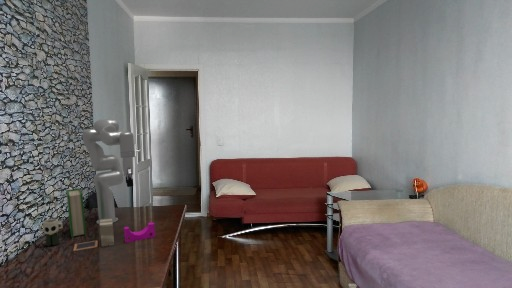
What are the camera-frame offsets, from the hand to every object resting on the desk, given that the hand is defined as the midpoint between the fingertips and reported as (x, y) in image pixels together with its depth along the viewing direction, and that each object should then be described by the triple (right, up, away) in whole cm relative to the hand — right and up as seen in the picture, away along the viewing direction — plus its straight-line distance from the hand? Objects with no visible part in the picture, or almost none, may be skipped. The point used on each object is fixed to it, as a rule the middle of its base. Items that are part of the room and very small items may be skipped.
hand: (129, 184), depth 201 cm
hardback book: (-33, -29, +8) cm, 44 cm away
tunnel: (-7, -29, -12) cm, 32 cm away
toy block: (+8, -28, -8) cm, 30 cm away
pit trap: (-17, -30, -16) cm, 38 cm away
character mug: (-37, -31, -11) cm, 49 cm away
